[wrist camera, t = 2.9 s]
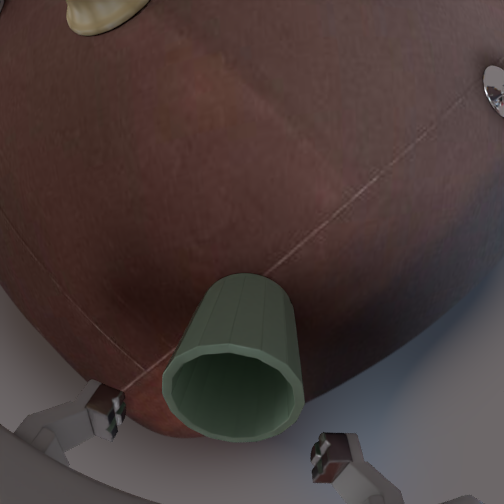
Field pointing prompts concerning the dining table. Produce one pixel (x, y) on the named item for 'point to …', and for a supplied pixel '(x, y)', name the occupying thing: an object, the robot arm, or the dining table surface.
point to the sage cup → (238, 363)
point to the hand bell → (100, 14)
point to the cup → (1, 4)
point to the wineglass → (494, 87)
